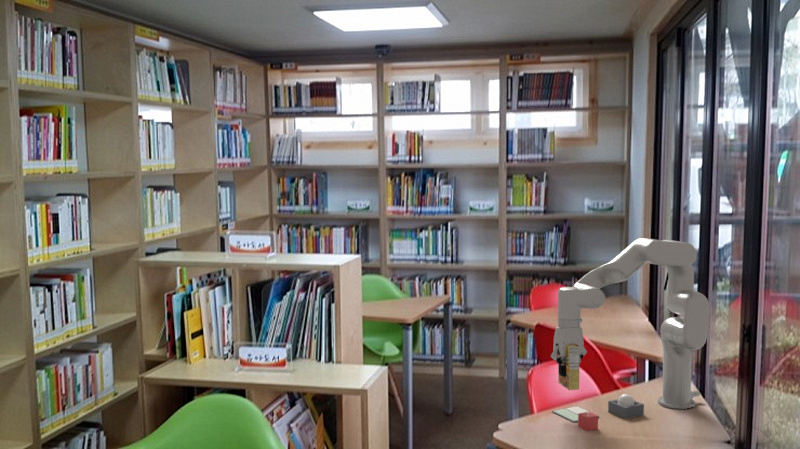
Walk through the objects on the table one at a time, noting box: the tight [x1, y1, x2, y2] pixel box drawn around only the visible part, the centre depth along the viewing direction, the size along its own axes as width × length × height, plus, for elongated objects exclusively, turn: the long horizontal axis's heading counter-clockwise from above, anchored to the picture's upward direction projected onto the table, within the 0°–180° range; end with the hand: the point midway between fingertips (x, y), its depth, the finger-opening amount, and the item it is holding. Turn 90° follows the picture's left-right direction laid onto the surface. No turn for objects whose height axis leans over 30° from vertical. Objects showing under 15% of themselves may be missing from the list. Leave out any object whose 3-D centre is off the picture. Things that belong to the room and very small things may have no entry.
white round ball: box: [617, 393, 635, 407], centre depth 247 cm, size 6×6×6 cm
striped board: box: [551, 405, 600, 423], centre depth 247 cm, size 11×12×1 cm
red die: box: [577, 411, 599, 432], centre depth 234 cm, size 4×4×5 cm
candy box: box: [557, 345, 580, 391], centre depth 244 cm, size 9×4×15 cm, turn 12°
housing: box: [607, 398, 645, 420], centre depth 247 cm, size 8×8×4 cm
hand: (569, 374), depth 245 cm, fingers closed on candy box, 5 cm apart
